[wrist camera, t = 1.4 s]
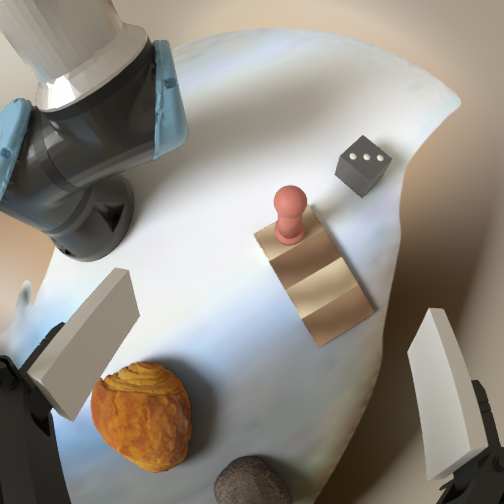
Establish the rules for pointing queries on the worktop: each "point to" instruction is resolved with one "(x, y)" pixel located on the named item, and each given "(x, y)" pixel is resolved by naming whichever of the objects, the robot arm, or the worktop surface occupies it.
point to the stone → (250, 484)
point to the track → (316, 280)
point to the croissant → (144, 415)
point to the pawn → (290, 214)
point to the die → (362, 166)
